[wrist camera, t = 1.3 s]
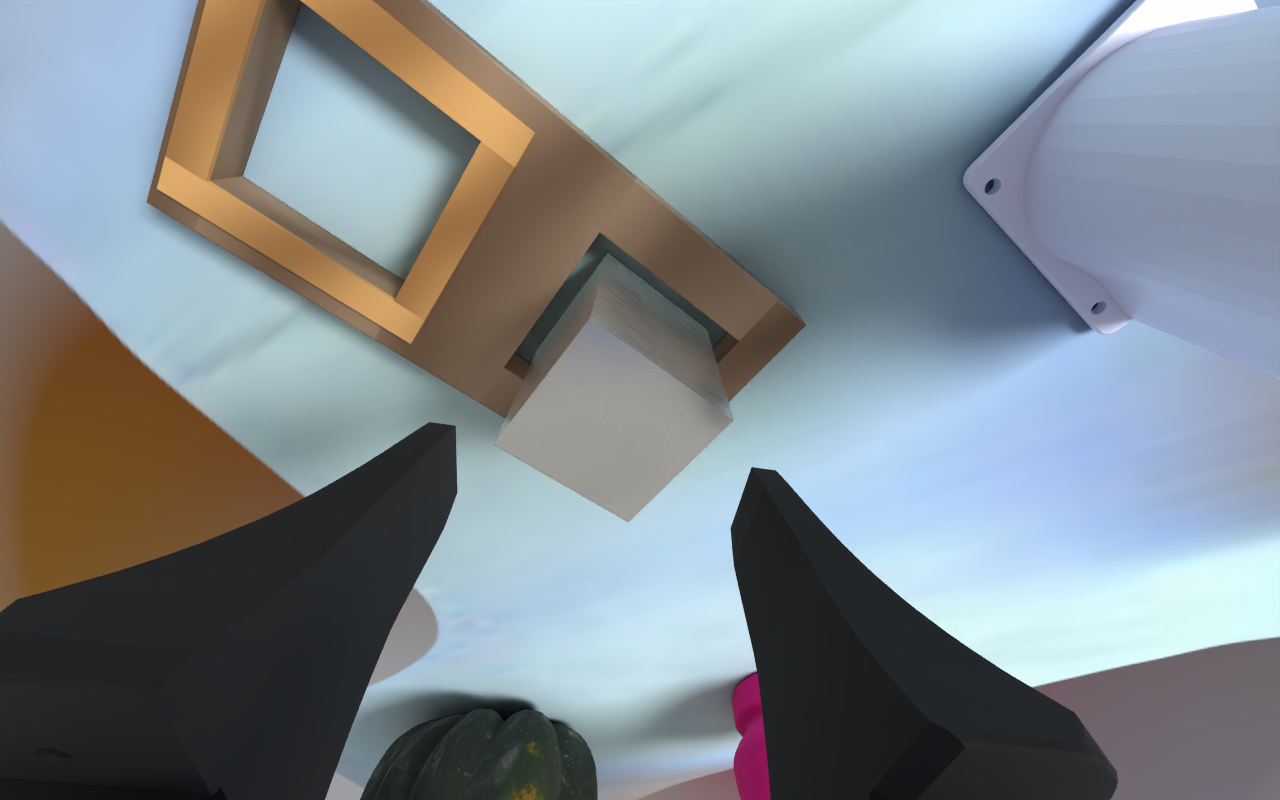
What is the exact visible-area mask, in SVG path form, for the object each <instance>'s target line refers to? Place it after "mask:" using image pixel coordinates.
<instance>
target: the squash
mask: <svg viewBox="0 0 1280 800" xmlns="http://www.w3.org/2000/svg"><path fill="white" fill-rule="evenodd" d="M597 796H598V793H597V776H596V768H595V763H594V759H593V756H592V754H591V751H590V749H589V747H588V745H587V744H586V742H585V740H584V739H583V738H582V737H581V736H580V735H579V734H578V733H577V732H575V731H574V730H572V729H571V728H568V727H566V726H563V725H560V724H552V723H551V722H550V721H549V719H548V718H547V717H546V716H545V715H544V714H543V713H541V712H538V711H534V710H521V711H519V712H517V713H514V714H513V715H511V716H510V717H508V719H507V720H506V721H505V722H504V721H503V719H502V718H501V716H500V715H499V714H498V713H497V712H495V711H493V710H491V709H475V710H473V711H470V712H469V713H467V714H466V715H465V714H459V715H452V716H448V717H444V718H441V719H435V720H431V721H428V722H425V723H422V724H419V725H417V726H415V727H413V728H412V729H410V730H409V731H407V732H406V733H404V734H403V735H402V736H400V737H399V738H398V739H396V740H395V741H394V743H393V744H392V745H391V746H390V747H389V748H388V750H387V751H386V753H385V754H384V756H383V757H382V759H381V760H380V762H379V763H378V765H377V766H376V768H375V770H374V771H373V773H372V775H371V777H370V779H369V781H368V783H367V785H366V787H365V790H364V792H363V794H362V796H361V799H360V800H597Z"/></svg>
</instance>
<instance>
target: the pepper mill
mask: <svg viewBox="0 0 1280 800" xmlns="http://www.w3.org/2000/svg"><path fill="white" fill-rule="evenodd" d="M732 705H733V712H734V718H735V725H736V728H737V730H738V732H739V733H740V734H741V735H742V736H743V738H742V740H741V741H740V743H739V746H738V748H737V750H736V753H735V757H734V773H735V778H736V782H737V786H738V791H739V795H740V798H741V800H771V798H770V786H769V774H768V762H767V752H766V743H765V733H764V723H763V714H762V706H761V698H760V690H759V682H758V674H757V673H756V674H753V675H751V676H749V677H748V678H746V679H745V680H743V681H742V682H741V683H740V684H739V685H738V686H737V687H736V688H735V690H734V693H733V696H732Z"/></svg>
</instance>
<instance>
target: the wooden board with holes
mask: <svg viewBox="0 0 1280 800" xmlns="http://www.w3.org/2000/svg"><path fill="white" fill-rule="evenodd" d="M301 2H303V3H304V4H306V5H307V6H308V7H309V8H311V9H312V10H313V11H315V12H316V13H317V14H318V15H320V16H321V17H322V18H324V19H325V20H326V21H327V22H329V23H330V24H331V25H333V26H334V27H335V28H336V29H338V30H339V31H340V32H341V33H343V34H344V35H345V36H347V37H348V38H349V39H350V40H352V41H353V42H354V43H356V44H357V45H358V46H359V47H361V48H362V49H363V50H365V51H366V52H367V53H368V54H370V55H371V56H372V57H374V58H375V59H376V60H377V61H379V62H380V63H381V64H383V65H384V66H385V67H386V68H388V69H389V70H390V71H392V72H393V73H394V74H395V75H397V76H398V77H399V78H401V79H402V80H403V81H404V82H406V83H407V84H408V85H409V86H411V87H412V88H413V89H415V90H416V91H417V92H418V93H420V94H421V95H422V96H424V97H425V98H426V99H427V100H429V101H430V102H431V103H433V104H434V105H435V106H436V107H438V108H439V109H440V110H442V111H443V112H444V113H445V114H447V115H448V116H449V117H451V118H452V119H453V120H454V121H456V122H457V123H458V124H460V125H461V126H462V127H463V128H465V129H466V130H467V131H469V132H470V133H471V134H472V135H474V136H475V137H476V138H477V139H479V140H480V141H481V142H480V144H479V146H478V147H477V149H476V151H475V153H474V155H473V157H472V158H471V160H470V162H469V164H468V166H467V168H466V169H465V171H464V173H463V175H462V177H461V179H460V181H459V182H458V184H457V186H456V188H455V190H454V192H453V193H452V195H451V197H450V199H449V201H448V203H447V204H446V206H445V208H444V210H443V212H442V214H441V215H440V217H439V219H438V221H437V223H436V225H435V227H434V228H433V230H432V232H431V234H430V236H429V238H428V239H427V241H426V243H425V245H424V247H423V249H422V250H421V252H420V254H419V256H418V258H417V260H416V261H415V263H414V265H413V267H412V269H411V271H410V273H409V274H408V276H407V278H406V280H405V282H404V281H403V280H401V279H400V278H398V277H397V276H395V275H394V274H392V273H391V272H389V271H388V270H386V269H384V268H383V267H381V266H380V265H378V264H377V263H375V262H374V261H372V260H371V259H369V258H368V257H366V256H365V255H363V254H361V253H360V252H358V251H357V250H355V249H354V248H352V247H351V246H349V245H348V244H346V243H345V242H343V241H341V240H340V239H338V238H337V237H335V236H334V235H332V234H331V233H329V232H328V231H326V230H325V229H323V228H321V227H320V226H318V225H317V224H315V223H314V222H312V221H311V220H309V219H308V218H306V217H305V216H303V215H301V214H300V213H298V212H297V211H295V210H294V209H292V208H291V207H289V206H288V205H286V204H285V203H283V202H282V201H280V200H278V199H277V198H275V197H274V196H272V195H271V194H269V193H268V192H266V191H265V190H263V189H262V188H260V187H258V186H257V185H255V184H254V183H252V182H251V181H249V180H248V179H246V178H245V177H243V173H244V170H245V167H246V164H247V161H248V158H249V155H250V152H251V149H252V146H253V143H254V140H255V137H256V134H257V131H258V128H259V126H260V123H261V120H262V117H263V114H264V111H265V108H266V105H267V102H268V99H269V96H270V93H271V90H272V87H273V84H274V81H275V78H276V75H277V72H278V69H279V67H280V64H281V61H282V58H283V55H284V52H285V49H286V46H287V43H288V40H289V37H290V34H291V31H292V28H293V25H294V22H295V19H296V16H297V13H298V11H299V8H300V5H301ZM147 203H149V204H150V205H152V206H154V207H155V208H157V209H159V210H160V211H162V212H164V213H165V214H167V215H169V216H170V217H172V218H174V219H175V220H177V221H179V222H180V223H182V224H184V225H185V226H187V227H189V228H190V229H192V230H194V231H195V232H197V233H199V234H200V235H202V236H204V237H205V238H207V239H209V240H210V241H212V242H214V243H215V244H217V245H218V246H220V247H222V248H223V249H225V250H227V251H228V252H230V253H232V254H233V255H235V256H237V257H238V258H240V259H242V260H243V261H245V262H247V263H248V264H250V265H252V266H253V267H255V268H257V269H258V270H260V271H262V272H263V273H265V274H267V275H268V276H270V277H272V278H273V279H275V280H277V281H278V282H280V283H282V284H283V285H285V286H287V287H288V288H290V289H292V290H293V291H295V292H297V293H298V294H300V295H302V296H303V297H305V298H307V299H308V300H310V301H312V302H313V303H315V304H317V305H318V306H320V307H322V308H323V309H325V310H327V311H328V312H330V313H331V314H333V315H335V316H336V317H338V318H340V319H341V320H343V321H345V322H346V323H348V324H350V325H351V326H353V327H355V328H356V329H358V330H360V331H361V332H363V333H365V334H366V335H368V336H370V337H371V338H373V339H375V340H376V341H378V342H380V343H381V344H383V345H385V346H386V347H388V348H390V349H391V350H393V351H395V352H396V353H398V354H400V355H401V356H403V357H405V358H406V359H408V360H410V361H411V362H413V363H415V364H416V365H418V366H420V367H421V368H423V369H425V370H426V371H428V372H430V373H431V374H433V375H435V376H436V377H438V378H439V379H441V380H443V381H444V382H446V383H448V384H449V385H451V386H453V387H454V388H456V389H458V390H459V391H461V392H463V393H464V394H466V395H468V396H469V397H471V398H473V399H474V400H476V401H478V402H479V403H481V404H483V405H484V406H486V407H488V408H489V409H491V410H493V411H494V412H496V413H498V414H499V415H501V416H503V417H504V418H506V416H507V414H508V412H509V410H510V408H511V405H512V403H513V401H514V399H515V397H516V394H517V392H518V390H519V388H520V386H521V384H522V381H523V379H524V377H525V375H526V373H527V371H528V368H529V366H530V363H529V362H527V361H526V360H524V359H523V358H521V357H520V356H518V355H517V354H515V353H514V352H515V351H516V350H517V348H518V347H519V345H520V344H521V343H522V341H523V340H524V338H525V337H526V336H527V334H528V333H529V331H530V330H531V328H532V327H533V326H534V324H535V323H536V321H537V320H538V319H539V317H540V316H541V314H542V313H543V312H544V310H545V309H546V307H547V306H548V305H549V303H550V302H551V300H552V299H553V297H554V296H555V295H556V293H557V292H558V290H559V289H560V288H561V286H562V285H563V283H564V282H565V281H566V279H567V278H568V276H569V275H570V273H571V272H572V271H573V269H574V268H575V266H576V265H577V264H578V262H579V261H580V259H581V258H582V257H583V255H584V254H585V252H586V251H587V249H588V248H589V247H590V245H591V244H592V242H593V241H594V240H595V238H596V237H597V235H598V234H599V233H601V234H603V235H604V236H605V237H607V238H608V239H609V240H610V241H612V242H613V243H614V244H615V245H617V246H618V247H619V248H621V249H622V250H623V251H624V252H626V253H627V254H628V255H630V256H631V257H632V258H633V259H635V260H636V261H637V262H639V263H640V264H641V265H642V266H644V267H645V268H646V269H648V270H649V271H650V272H651V273H653V274H654V275H655V276H656V277H658V278H659V279H660V280H662V281H663V282H664V283H665V284H667V285H668V286H669V287H671V288H672V289H673V290H674V291H676V292H677V293H678V294H680V295H681V296H682V297H683V298H685V299H686V300H687V301H688V302H690V303H691V304H692V305H694V306H695V307H696V308H697V309H699V310H700V311H701V312H703V313H704V314H705V315H706V316H708V317H709V318H710V319H712V320H713V321H714V322H715V323H717V324H718V325H719V326H721V327H722V328H723V329H724V330H726V331H727V332H728V333H727V334H726V335H725V336H724V337H723V338H722V339H721V340H720V341H719V343H718V344H717V345H716V346H715V347H714V348H713V351H714V355H715V358H716V362H717V365H718V368H719V372H720V375H721V379H722V382H723V385H724V389H725V392H726V396H727V399H728V402H729V401H730V400H731V399H732V398H733V397H734V396H735V395H736V394H737V393H738V392H739V391H740V390H741V389H742V388H743V387H744V386H745V385H746V384H747V383H748V382H749V381H750V380H751V379H752V378H753V377H754V376H755V375H756V374H757V373H758V372H759V371H760V370H761V369H762V368H763V367H764V366H765V365H766V364H767V363H768V362H769V361H770V360H771V359H772V358H773V357H774V356H775V355H776V354H777V353H778V352H779V351H780V350H781V349H782V348H783V347H784V346H785V345H786V344H787V343H788V342H789V341H790V340H791V339H792V338H793V337H794V336H795V335H796V334H797V333H798V332H799V331H800V330H801V329H802V328H803V327H804V326H805V325H806V324H805V323H804V322H803V320H802V319H801V318H800V317H799V315H798V314H797V313H796V311H795V310H793V309H792V308H791V307H790V306H789V305H787V304H786V303H785V302H784V301H783V300H782V299H780V298H779V297H778V296H777V295H776V294H774V293H773V292H772V291H771V290H770V289H768V288H767V287H766V286H765V285H764V284H763V283H761V282H760V281H759V280H758V279H757V278H755V277H754V276H753V275H752V274H751V273H750V272H748V271H747V270H746V269H745V268H744V267H742V266H741V265H740V264H739V263H738V262H737V261H735V260H734V259H733V258H732V257H731V256H729V255H728V254H727V253H726V252H725V251H723V250H722V249H721V248H720V247H719V246H718V245H716V244H715V243H714V242H713V241H712V240H710V239H709V238H708V237H707V236H706V235H705V234H703V233H702V232H701V231H700V230H699V229H697V228H696V227H695V226H694V225H693V224H691V223H690V222H689V221H688V220H687V219H686V218H684V217H683V216H682V215H681V214H680V213H678V212H677V211H676V210H675V209H674V208H673V207H671V206H670V205H669V204H668V203H667V202H665V201H664V200H663V199H662V198H661V197H659V196H658V195H657V194H656V193H655V192H654V191H652V190H651V189H650V188H649V187H648V186H646V185H645V184H644V183H643V182H642V181H641V180H639V179H638V178H637V177H636V176H635V175H633V174H632V173H631V172H630V171H629V170H628V169H626V168H625V167H624V166H623V165H622V164H620V163H619V162H618V161H617V160H616V159H614V158H613V157H612V156H611V155H610V154H609V153H607V152H606V151H605V150H604V149H603V148H601V147H600V146H599V145H598V144H597V143H596V142H594V141H593V140H592V139H591V138H590V137H588V136H587V135H586V134H585V133H584V132H582V131H581V130H580V129H579V128H578V127H577V126H575V125H574V124H573V123H572V122H571V121H569V120H568V119H567V118H566V117H565V116H564V115H562V114H561V113H560V112H559V111H558V110H556V109H555V108H554V107H553V106H552V105H551V104H549V103H548V102H547V101H546V100H545V99H543V98H542V97H541V96H540V95H539V94H537V93H536V92H535V91H534V90H533V89H532V88H530V87H529V86H528V85H527V84H526V83H524V82H523V81H522V80H521V79H520V78H519V77H517V76H516V75H515V74H514V73H513V72H511V71H510V70H509V69H508V68H507V67H505V66H504V65H503V64H502V63H501V62H500V61H498V60H497V59H496V58H495V57H494V56H492V55H491V54H490V53H489V52H488V51H487V50H485V49H484V48H483V47H482V46H481V45H479V44H478V43H477V42H476V41H475V40H473V39H472V38H471V37H470V36H469V35H468V34H466V33H465V32H464V31H463V30H462V29H460V28H459V27H458V26H457V25H456V24H455V23H453V22H452V21H451V20H450V19H449V18H447V17H446V16H445V15H444V14H443V13H442V12H440V11H439V10H438V9H437V8H436V7H434V6H433V5H432V4H431V3H430V2H428V1H427V0H199V1H198V5H197V8H196V12H195V16H194V20H193V24H192V28H191V32H190V36H189V40H188V44H187V47H186V51H185V55H184V59H183V63H182V67H181V71H180V75H179V79H178V83H177V86H176V90H175V94H174V98H173V102H172V106H171V110H170V114H169V118H168V122H167V125H166V129H165V133H164V137H163V141H162V145H161V149H160V153H159V157H158V161H157V164H156V168H155V172H154V176H153V180H152V184H151V188H150V192H149V196H148V200H147Z"/></svg>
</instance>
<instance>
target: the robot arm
mask: <svg viewBox="0 0 1280 800" xmlns="http://www.w3.org/2000/svg"><path fill="white" fill-rule="evenodd" d="M991 179H993V180H994V185H993V187H992V189H991V190H990V191H989V192H987V193H985V185H986V184H987V183H988V181H990V180H991ZM963 184H964V186H965V188H966V189H967V190H968V192H969V193H970V194H971V195H972V196H973V197H974V198H975V199H976V200H977V202H978V203H979V204H980V205H981V206H982V207H983V208H984V209H985V210H986V212H987V213H988V214H989V215H990V216H991V217H992V218H993V219H994V220H995V222H996V223H997V224H998V225H999V226H1000V227H1001V228H1002V229H1003V231H1004V232H1005V233H1006V234H1007V235H1008V236H1009V237H1010V238H1011V239H1012V241H1013V242H1014V243H1015V244H1016V245H1017V246H1018V247H1019V248H1020V249H1021V251H1022V252H1023V253H1024V254H1025V255H1026V256H1027V257H1028V258H1029V259H1030V261H1031V262H1032V263H1033V264H1034V265H1035V266H1036V267H1037V268H1038V269H1039V271H1040V272H1041V273H1042V274H1043V275H1044V276H1045V277H1046V278H1047V279H1048V281H1049V282H1050V283H1051V284H1052V285H1053V286H1054V287H1055V288H1056V289H1057V291H1058V292H1059V293H1060V294H1061V295H1062V296H1063V297H1064V298H1065V299H1066V301H1067V302H1068V303H1069V304H1070V305H1071V306H1072V307H1073V308H1074V310H1075V311H1076V312H1077V313H1078V314H1079V315H1080V316H1081V317H1082V318H1083V320H1084V321H1085V322H1086V323H1087V324H1088V325H1089V326H1090V327H1091V328H1092V330H1094V331H1096V332H1098V333H1100V334H1103V335H1108V334H1112V333H1114V332H1115V331H1117V330H1119V329H1120V328H1121V327H1123V326H1124V325H1125V324H1127V323H1128V322H1129V321H1131V320H1132V319H1134V320H1137V321H1139V322H1141V323H1144V324H1146V325H1149V326H1151V327H1154V328H1156V329H1158V330H1161V331H1163V332H1166V333H1168V334H1170V335H1173V336H1175V337H1178V338H1180V339H1182V340H1185V341H1187V342H1190V343H1192V344H1194V345H1197V346H1199V347H1202V348H1204V349H1207V350H1209V351H1211V352H1214V353H1216V354H1219V355H1221V356H1223V357H1226V358H1228V359H1231V360H1233V361H1235V362H1238V363H1240V364H1243V365H1245V366H1247V367H1250V368H1252V369H1255V370H1257V371H1260V372H1262V373H1264V374H1267V375H1269V376H1272V377H1274V378H1276V379H1279V380H1280V5H1276V6H1271V7H1265V8H1259V9H1258V7H1257V5H1256V3H1255V2H1254V0H1136V1H1135V2H1134V3H1133V4H1132V5H1131V6H1130V7H1129V8H1128V9H1127V10H1126V11H1125V12H1124V13H1123V14H1122V15H1121V16H1120V17H1119V18H1118V19H1117V20H1116V21H1115V22H1114V23H1113V24H1112V25H1111V26H1110V27H1109V28H1108V29H1107V30H1106V31H1105V32H1104V33H1103V34H1102V35H1101V36H1100V37H1099V38H1098V39H1097V40H1096V41H1095V42H1094V43H1093V44H1092V45H1091V46H1090V47H1089V48H1088V49H1087V50H1086V51H1085V52H1084V53H1083V54H1082V55H1081V56H1080V57H1079V58H1078V59H1077V60H1076V61H1075V62H1074V63H1073V64H1072V65H1071V66H1070V67H1069V68H1068V69H1067V70H1066V71H1065V72H1064V73H1063V74H1062V75H1061V76H1060V77H1059V78H1058V79H1057V80H1056V81H1055V82H1054V83H1053V84H1052V85H1051V86H1050V87H1049V88H1048V89H1047V90H1046V91H1045V92H1044V93H1043V94H1042V95H1041V96H1040V97H1039V98H1038V99H1037V100H1036V101H1035V102H1034V103H1033V104H1032V105H1031V106H1029V107H1028V108H1027V109H1026V110H1025V111H1024V112H1023V113H1022V114H1021V115H1020V116H1019V117H1018V118H1017V119H1016V120H1015V121H1014V122H1013V123H1012V124H1011V125H1010V126H1009V127H1008V128H1007V129H1006V130H1005V131H1004V132H1003V133H1002V134H1001V135H1000V136H999V137H998V138H997V139H996V140H995V141H994V142H993V143H992V144H991V145H990V146H989V147H988V148H987V149H986V150H985V151H984V152H983V153H982V154H981V155H980V156H979V157H978V158H977V159H976V160H975V161H974V162H973V163H972V164H971V165H970V166H969V167H968V169H967V170H966V171H965V174H964V177H963ZM1096 303H1098V305H1097V306H1096V307H1095V309H1093V310H1091V309H1092V307H1093V306H1094V305H1095V304H1096ZM456 495H457V464H456V426H452V425H445V424H438V423H431V422H429V423H427V424H426V425H424V426H423V427H421V428H419V429H418V430H416V431H415V432H413V433H412V434H410V435H409V436H407V437H406V438H404V439H403V440H401V441H400V442H398V443H397V444H395V445H394V446H392V447H390V448H389V449H387V450H386V451H384V452H383V453H381V454H379V455H378V456H376V457H375V458H373V459H372V460H370V461H368V462H367V463H365V464H364V465H362V466H360V467H359V468H357V469H355V470H354V471H352V472H350V473H348V474H347V475H345V476H343V477H341V478H340V479H338V480H336V481H334V482H333V483H331V484H329V485H327V486H326V487H324V488H322V489H320V490H319V491H317V492H315V493H313V494H311V495H309V496H307V497H305V498H303V499H301V500H299V501H297V502H295V503H294V504H291V505H289V506H287V507H285V508H283V509H281V510H278V511H277V512H274V513H272V514H270V515H268V516H266V517H263V518H261V519H259V520H257V521H254V522H252V523H249V524H247V525H244V526H242V527H239V528H237V529H235V530H232V531H230V532H227V533H225V534H222V535H220V536H218V537H215V538H213V539H210V540H207V541H205V542H202V543H200V544H197V545H194V546H191V547H189V548H186V549H183V550H180V551H177V552H175V553H172V554H169V555H167V556H163V557H160V558H157V559H155V560H151V561H148V562H145V563H142V564H139V565H136V566H133V567H130V568H126V569H123V570H120V571H117V572H113V573H111V574H107V575H103V576H100V577H96V578H93V579H89V580H86V581H82V582H79V583H75V584H71V585H68V586H65V587H61V588H57V589H54V590H50V591H47V592H43V593H40V594H36V595H32V596H28V597H24V598H20V599H17V600H16V601H14V602H13V603H12V604H10V605H9V606H8V607H6V608H5V609H4V610H3V611H1V612H0V800H325V798H326V795H327V792H328V789H329V786H330V783H331V781H332V778H333V775H334V773H335V770H336V767H337V764H338V762H339V759H340V756H341V754H342V751H343V748H344V746H345V743H346V740H347V738H348V735H349V732H350V729H351V727H352V724H353V721H354V719H355V716H356V714H357V711H358V709H359V706H360V704H361V701H362V699H363V696H364V694H365V691H366V688H367V686H368V683H369V681H370V678H371V676H372V673H373V671H374V669H375V666H376V664H377V661H378V659H379V656H380V654H381V652H382V649H383V647H384V644H385V642H386V640H387V637H388V635H389V632H390V630H391V628H392V626H393V624H394V622H395V620H396V618H397V616H398V614H399V612H400V610H401V608H402V606H403V604H404V603H405V601H406V599H407V597H408V595H409V593H410V591H411V590H412V588H413V586H414V584H415V582H416V580H417V578H418V577H419V575H420V573H421V571H422V569H423V567H424V565H425V564H426V562H427V560H428V558H429V556H430V554H431V552H432V550H433V548H434V547H435V545H436V543H437V541H438V539H439V537H440V535H441V533H442V531H443V529H444V527H445V524H446V522H447V519H448V516H449V514H450V511H451V508H452V506H453V503H454V500H455V497H456ZM731 537H732V550H733V560H734V567H735V572H736V577H737V582H738V586H739V591H740V595H741V600H742V604H743V608H744V613H745V617H746V621H747V626H748V630H749V634H750V639H751V643H752V648H753V652H754V657H755V663H756V668H757V674H758V682H759V690H760V698H761V706H762V714H763V723H764V733H765V743H766V752H767V762H768V774H769V786H770V798H771V800H1110V799H1111V798H1112V796H1113V794H1114V792H1115V790H1116V787H1117V783H1118V779H1117V771H1116V770H1115V768H1114V767H1113V766H1112V764H1111V763H1110V761H1109V760H1108V759H1107V757H1106V756H1105V754H1104V753H1103V752H1102V750H1101V749H1100V747H1099V746H1098V745H1097V743H1096V742H1095V740H1094V739H1093V738H1092V736H1091V735H1090V733H1089V732H1088V731H1087V729H1086V728H1085V726H1084V725H1083V724H1082V722H1081V721H1080V719H1079V718H1078V717H1077V715H1076V714H1075V713H1074V712H1073V711H1071V710H1069V709H1067V708H1066V707H1064V706H1062V705H1061V704H1059V703H1057V702H1056V701H1054V700H1052V699H1050V698H1049V697H1047V696H1045V695H1044V694H1042V693H1040V692H1038V691H1037V690H1035V689H1033V688H1032V687H1030V686H1028V685H1027V684H1025V683H1023V682H1021V681H1020V680H1018V679H1016V678H1015V677H1013V676H1011V675H1010V674H1008V673H1006V672H1005V671H1003V670H1002V669H1000V668H999V667H997V666H996V665H994V664H993V663H991V662H990V661H988V660H986V659H985V658H983V657H982V656H980V655H979V654H977V653H976V652H974V651H973V650H971V649H970V648H968V647H967V646H965V645H964V644H963V643H961V642H960V641H958V640H957V639H955V638H954V637H952V636H951V635H950V634H948V633H947V632H945V631H944V630H943V629H941V628H940V627H939V626H937V625H936V624H935V623H933V622H932V621H931V620H929V619H928V618H927V617H925V616H924V615H923V614H921V613H920V612H919V611H917V610H916V609H915V608H914V607H912V606H911V605H910V604H909V603H907V602H906V601H905V600H904V599H902V598H901V597H900V596H899V595H898V594H896V593H895V592H894V591H893V590H892V589H891V588H890V587H888V586H887V585H886V584H885V583H884V582H883V581H881V580H880V579H879V578H878V577H877V576H876V575H874V574H873V573H872V572H871V571H870V570H869V569H868V568H867V567H866V566H865V565H864V564H863V563H862V562H861V561H860V560H859V559H857V558H856V557H855V556H854V555H853V554H852V553H851V552H850V551H849V550H848V549H847V548H846V547H845V546H844V545H843V544H842V543H841V542H840V541H839V540H838V539H837V537H836V536H835V535H834V534H833V533H832V532H831V531H830V530H829V529H828V528H827V527H826V526H825V525H824V524H823V523H822V521H821V520H820V519H819V518H818V517H817V516H816V515H815V514H814V513H813V512H812V510H811V509H810V508H809V507H808V506H807V505H806V504H805V502H804V501H803V500H802V499H801V498H800V497H799V496H798V494H797V493H796V492H795V491H794V490H793V489H792V488H791V486H790V485H789V484H788V483H787V482H786V481H785V480H784V479H783V478H782V476H781V475H780V474H779V473H778V472H777V471H775V470H768V469H761V468H754V467H752V468H751V471H750V474H749V477H748V480H747V483H746V485H745V488H744V491H743V494H742V497H741V500H740V503H739V506H738V509H737V512H736V514H735V517H734V520H733V523H732V526H731Z"/></svg>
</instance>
